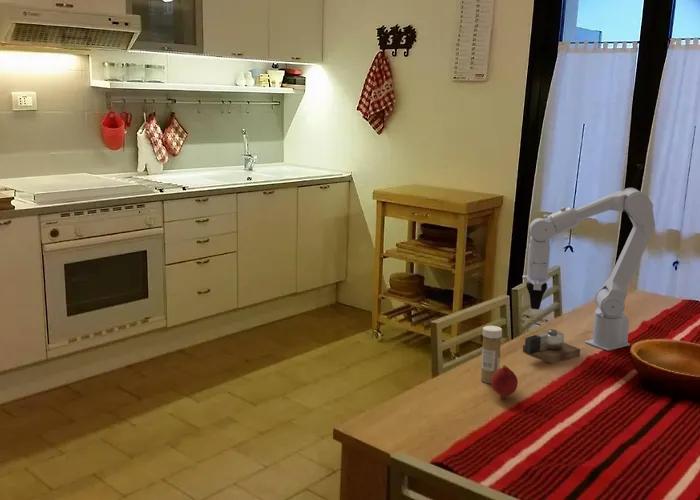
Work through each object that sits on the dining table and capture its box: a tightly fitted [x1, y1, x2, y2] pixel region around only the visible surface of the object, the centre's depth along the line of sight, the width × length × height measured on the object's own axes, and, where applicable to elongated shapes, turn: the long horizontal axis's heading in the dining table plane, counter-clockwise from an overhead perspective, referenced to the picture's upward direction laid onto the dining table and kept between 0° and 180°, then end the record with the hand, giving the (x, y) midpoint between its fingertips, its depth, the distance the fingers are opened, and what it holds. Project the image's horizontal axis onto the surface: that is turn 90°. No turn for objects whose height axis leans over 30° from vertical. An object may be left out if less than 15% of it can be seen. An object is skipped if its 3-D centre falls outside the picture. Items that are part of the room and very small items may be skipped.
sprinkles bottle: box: [480, 325, 503, 385], centre depth 167 cm, size 5×5×13 cm
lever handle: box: [524, 328, 565, 355], centre depth 184 cm, size 13×6×4 cm, turn 126°
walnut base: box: [522, 342, 581, 365], centre depth 187 cm, size 11×10×2 cm
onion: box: [491, 363, 518, 399], centre depth 158 cm, size 6×6×8 cm
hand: (535, 308), depth 196 cm, fingers closed
